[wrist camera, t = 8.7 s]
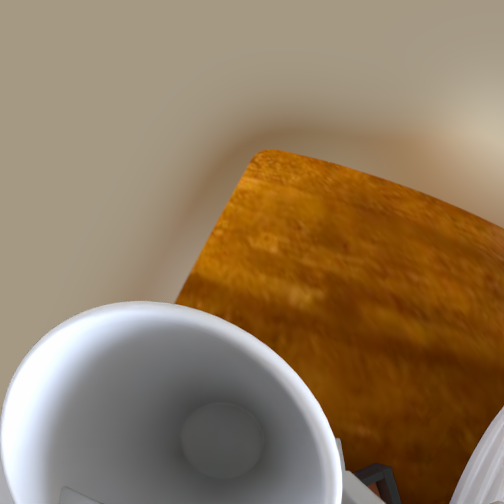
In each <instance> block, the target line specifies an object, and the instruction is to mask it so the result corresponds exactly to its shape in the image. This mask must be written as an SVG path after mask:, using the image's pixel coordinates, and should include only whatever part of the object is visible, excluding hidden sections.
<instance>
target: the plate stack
mask: <svg viewBox="0 0 504 504" xmlns="http://www.w3.org/2000/svg"><path fill="white" fill-rule="evenodd" d="M496 501H503V502H504V406H503V408H502V409H501V410H500V411H499V413H498V414H497V415H496V417H495V418H494V419H493V421H492V422H491V424H490V425H489V427H488V428H487V430H486V431H485V433H484V435H483V436H482V438H481V439H480V441H479V443H478V445H477V446H476V448H475V450H474V452H473V454H472V455H471V457H470V459H469V461H468V463H467V465H466V467H465V469H464V471H463V473H462V475H461V477H460V480H459V482H458V484H457V486H456V489H455V491H454V493H453V496H452V498H451V501H450V504H490V503H493V502H496Z"/></svg>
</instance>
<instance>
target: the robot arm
mask: <svg viewBox="0 0 504 504" xmlns="http://www.w3.org/2000/svg"><path fill="white" fill-rule="evenodd" d="M335 441H336V444H337V448H338V452H339V456H340V462H341V469H342V500H341V504H386V503H385V502H384V501H383V500H381V499H380V498H379V497H378V496H377V495H376V494H374V493H373V492H372V491H371V490H370V489H369V488H368V487H367V486H366V485H364V484H363V483H362V482H361V481H360V480H359V479H358V478H357V477H356V476H355V475H353V474H352V473H351V472H350V471H345V465H344V458H343V453H342V447H341V441H340V439H339V438H335ZM0 504H14V502H13V500H12V498H11V495H10V492H9V490H8V487H7V484H6V480H5V477H4V473H3V469H2V463H1V457H0ZM59 504H103V503H101V502H98V501H96V500H94V499H92V498H89V497H87V496H85V495H83V494H81V493H79V492H77V491H75V490H73V489H71V488H69V487H67V486H64V487H62V488H61V491H60V497H59ZM490 504H504V502H503V501H496V502H493V503H490Z"/></svg>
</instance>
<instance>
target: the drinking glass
mask: <svg viewBox="0 0 504 504" xmlns="http://www.w3.org/2000/svg"><path fill="white" fill-rule="evenodd" d="M0 457H1V463H2V469H3V473H4V477H5V480H6V484H7V487H8V490H9V492H10V495H11V498H12V500H13V502H14V504H59V497H60V491H61V488H62V487H64V486H67V487H69V488H71V489H73V490H75V491H77V492H79V493H81V494H83V495H85V496H87V497H89V498H92V499H94V500H96V501H98V502H101V503H103V504H341V500H342V469H341V462H340V456H339V452H338V448H337V444H336V441H335V437H334V435H333V432H332V430H331V427H330V425H329V422H328V420H327V418H326V416H325V414H324V412H323V410H322V409H321V407H320V405H319V403H318V402H317V400H316V399H315V397H314V396H313V394H312V392H311V391H310V389H309V388H308V387H307V385H306V384H305V383H304V382H303V381H302V379H301V378H300V377H299V376H298V374H297V373H296V372H295V371H294V370H293V369H292V368H291V367H290V366H289V365H288V364H287V363H286V362H285V361H284V360H283V359H282V358H281V357H280V356H279V355H277V354H276V353H275V352H274V351H273V350H272V349H270V348H269V347H268V346H267V345H265V344H264V343H262V342H261V341H260V340H258V339H257V338H256V337H254V336H253V335H251V334H249V333H248V332H246V331H244V330H243V329H241V328H239V327H238V326H236V325H234V324H232V323H230V322H228V321H226V320H223V319H221V318H219V317H217V316H214V315H212V314H209V313H206V312H204V311H201V310H197V309H194V308H190V307H187V306H182V305H177V304H172V303H166V302H156V301H128V302H118V303H112V304H107V305H102V306H99V307H95V308H92V309H89V310H86V311H84V312H81V313H78V314H76V315H74V316H72V317H70V318H68V319H66V320H65V321H63V322H62V323H60V324H58V325H57V326H55V327H54V328H52V329H51V330H50V331H49V332H47V333H46V334H45V335H44V336H43V337H42V338H41V339H40V340H39V341H37V342H36V343H35V344H34V346H33V347H32V348H31V349H30V350H29V351H28V353H27V354H26V355H25V357H24V358H23V360H22V361H21V363H20V364H19V366H18V367H17V369H16V371H15V373H14V375H13V377H12V379H11V381H10V384H9V386H8V389H7V391H6V395H5V398H4V402H3V406H2V411H1V416H0Z"/></svg>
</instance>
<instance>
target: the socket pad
mask: <svg viewBox="0 0 504 504" xmlns="http://www.w3.org/2000/svg"><path fill="white" fill-rule="evenodd" d="M352 474H353V475H355V476H356V477H357V478H358V479H359V480H360V481H361V482H362V483H363V484H364V485H366V486H367V487H368V488H369V489H370V490H371V491H372V492H373V493H374V494H376V495H377V496H378V497H379V498H380V499H381V500H383V501H384V502H385V503H386V504H401V500H400V496H399V493H398V489H397V486H396V483H395V479H394V476H393V473H392V469H391V467H390V466H386V465H382V464H378V463H374V464H372V465H370V466H368V467H366V468H364V469H361V470H359V471H357V472H354V473H352Z"/></svg>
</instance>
